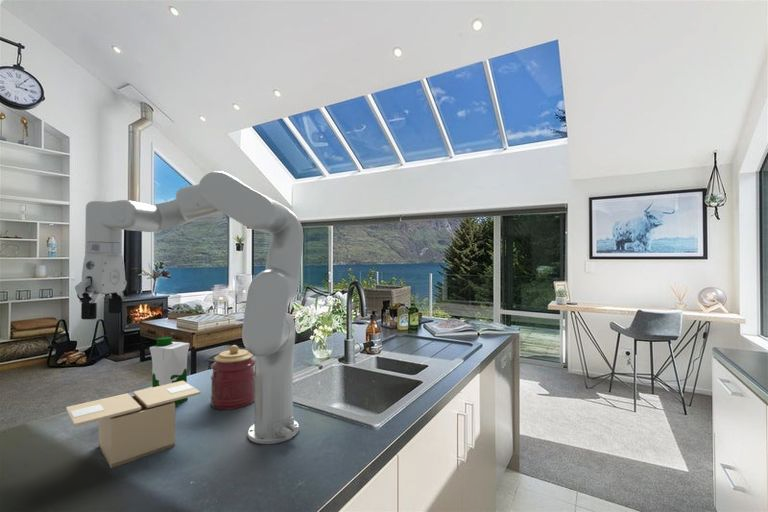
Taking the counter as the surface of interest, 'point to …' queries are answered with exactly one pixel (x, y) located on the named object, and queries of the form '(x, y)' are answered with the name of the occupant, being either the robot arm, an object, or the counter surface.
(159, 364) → the milk carton
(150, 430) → the parcel
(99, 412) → the outer flap
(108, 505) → the counter surface
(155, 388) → the panel
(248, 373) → the canister
